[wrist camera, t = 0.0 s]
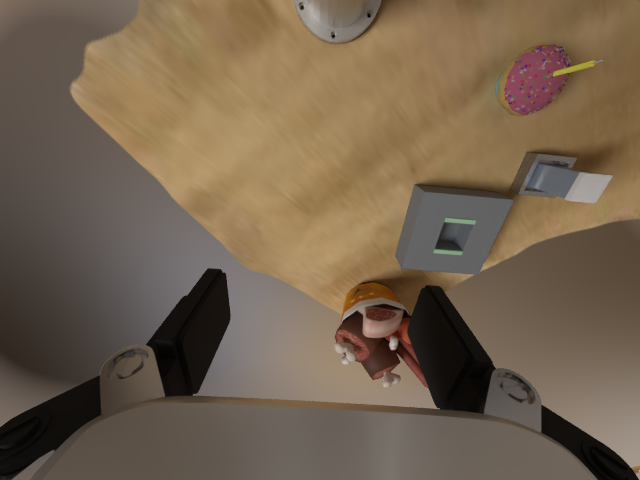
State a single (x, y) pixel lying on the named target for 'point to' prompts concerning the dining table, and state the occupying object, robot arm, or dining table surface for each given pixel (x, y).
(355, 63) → the dining table surface
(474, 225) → the port block
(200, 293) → the robot arm
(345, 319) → the bucket of meat
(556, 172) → the plug
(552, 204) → the dining table surface
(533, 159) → the box
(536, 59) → the cupcake
